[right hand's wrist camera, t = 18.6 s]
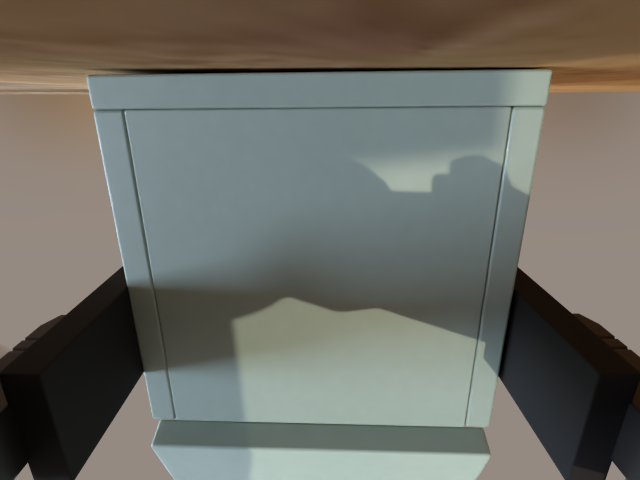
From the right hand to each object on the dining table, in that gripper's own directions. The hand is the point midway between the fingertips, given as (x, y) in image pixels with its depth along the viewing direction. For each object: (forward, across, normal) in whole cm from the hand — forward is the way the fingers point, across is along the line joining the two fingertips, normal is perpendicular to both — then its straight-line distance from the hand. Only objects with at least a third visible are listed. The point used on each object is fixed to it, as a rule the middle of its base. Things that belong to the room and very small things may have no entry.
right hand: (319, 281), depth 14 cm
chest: (+3, 0, -6) cm, 7 cm away
